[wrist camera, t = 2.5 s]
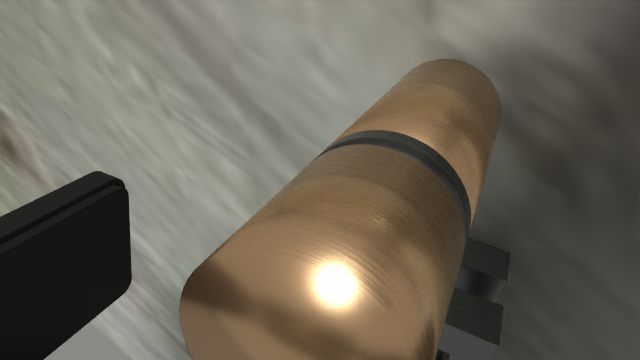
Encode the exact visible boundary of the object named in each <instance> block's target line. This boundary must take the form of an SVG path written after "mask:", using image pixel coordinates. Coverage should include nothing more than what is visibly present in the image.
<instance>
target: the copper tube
mask: <svg viewBox="0 0 640 360" xmlns="http://www.w3.org/2000/svg"><path fill="white" fill-rule="evenodd" d="M500 117H501V107H500V101H499V97H498V94H497V92H496V90H495V87H494V86H493V84H492V83H491V81H490V80H489V79H488V78H487V77H486V76H485V75H484V74H483V73H482V72H481V71H480V70H478V69H477V68H475V67H474V66H472V65H469V64H467V63H465V62H462V61H458V60H452V59H439V60H433V61H429V62H426V63H423V64H421V65H419V66H417V67H416V68H414V69H413V70H411V71H410V72H409V73H408V74H407V75H405V76H404V77H403V78H402V79H401V80H400V81H399V82H398V83H397V84H396V85H395V86H394V87H392V88H391V89H390V90H389V91H388V92H387V93H386V94H385V95H384V96H383V97H382V98H381V99H379V100H378V101H377V102H376V103H375V104H374V105H373V106H372V107H371V108H370V109H369V110H368V111H366V112H365V113H364V114H363V115H362V116H361V117H360V118H359V119H358V120H357V121H356V122H355V123H353V124H352V125H351V126H350V127H349V128H348V129H347V130H346V131H345V132H344V133H343V134H342V135H340V136H339V137H338V138H337V139H336V140H335V141H334V142H333V143H332V144H331V145H330V146H329V147H327V148H326V149H325V150H324V151H323V152H322V153H321V154H320V155H319V156H318V157H317V158H316V159H314V160H313V161H312V162H311V163H310V164H309V165H308V166H307V167H306V168H305V169H304V170H303V171H301V172H300V173H299V174H298V175H297V176H296V177H295V178H294V179H293V180H292V181H291V182H290V183H288V184H287V185H286V186H285V187H284V188H283V189H282V190H281V191H280V192H279V193H278V194H277V195H275V196H274V197H273V198H272V199H271V200H270V201H269V202H268V203H267V204H266V205H265V206H263V207H262V208H261V209H260V210H259V211H258V212H257V213H256V214H255V215H254V216H253V217H252V218H250V219H249V220H248V221H247V222H246V223H245V224H244V225H243V226H242V227H241V228H240V229H239V230H237V231H236V232H235V233H234V234H233V235H232V236H231V237H230V238H229V239H228V240H227V241H226V242H224V243H223V244H222V245H221V246H220V247H219V248H218V249H217V250H216V251H215V252H214V253H213V254H211V255H210V256H209V257H208V258H207V259H206V260H205V261H204V262H203V263H202V264H201V265H200V266H198V267H197V268H196V269H195V270H194V271H193V273H192V274H191V275H190V277H189V278H188V279H187V282H186V284H185V286H184V288H183V291H182V295H181V299H180V309H179V312H180V323H181V328H182V333H183V337H184V340H185V343H186V346H187V348H188V350H189V352H190V355H191V357H192V359H193V360H435V356H436V352H437V349H438V345H439V341H440V338H441V334H442V330H443V327H444V323H445V320H446V316H447V312H448V309H449V305H450V301H451V298H452V294H453V290H454V287H455V283H456V280H457V276H458V272H459V269H460V265H461V261H462V258H463V254H464V250H465V247H466V243H467V240H468V236H469V232H470V229H471V225H472V221H473V218H474V214H475V210H476V207H477V203H478V200H479V196H480V192H481V189H482V185H483V181H484V178H485V174H486V170H487V167H488V163H489V160H490V156H491V152H492V149H493V145H494V141H495V138H496V134H497V130H498V127H499V123H500Z"/></svg>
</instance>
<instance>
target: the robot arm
mask: <svg viewBox="0 0 640 360" xmlns="http://www.w3.org/2000/svg"><path fill="white" fill-rule="evenodd" d="M131 279H132V275H131V248H130V221H129V195H128V191H127V190H126V189H125V185H124V183H123V181H122V180H120V179H118V178H116V177H113V176H111V175H108V174H106V173H103V172H101V171H95V172H92V173H90V174H88V175H86V176H83V177H81V178H79V179H77V180H75V181H73V182H71V183H69V184H67V185H65V186H63V187H61V188H59V189H57V190H55V191H53V192H51V193H49V194H47V195H44V196H42V197H40V198H38V199H36V200H34V201H32V202H30V203H28V204H26V205H24V206H22V207H20V208H18V209H16V210H14V211H12V212H10V213H7V214H5V215H3V216H1V217H0V360H44V359H45V358H46V357H47V356H48V355H50V354H51V353H52V352H53V351H55V350H56V349H57V348H58V347H59V346H61V345H62V344H63V343H64V342H66V341H67V340H68V339H69V338H70V337H72V336H73V335H74V334H75V333H77V332H78V331H79V330H80V329H81V328H83V327H84V326H85V325H86V324H88V323H89V322H90V321H91V320H92V319H94V318H95V317H96V316H97V315H99V314H100V313H101V312H102V311H103V310H105V309H106V308H107V307H108V306H110V305H111V304H112V303H113V302H114V301H116V300H117V299H118V298H119V297H120V296H122V295H123V294H124V293H125V292H126V291H127V289H128V288H129V286H130V283H131Z"/></svg>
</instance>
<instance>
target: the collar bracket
mask: <svg viewBox="0 0 640 360" xmlns="http://www.w3.org/2000/svg"><path fill="white" fill-rule="evenodd" d="M509 259H510V253H508V252H506V251H503V250H500V249H498V248H495V247H492V246H489V245H487V244H484V243H481V242H478V241H476V240H473V239H470V238H468V240H467V243H466V247H465V250H464V254H463V258H462V261H461V265H460V269H459V272H458V276H457V280H456V283H455V287H454V290H453V294H452V298H451V301H450V305H449V309H448V312H447V316H446V320H445V323H444V327H443V330H442V334H441V338H440V341H439V345H438V349H437V352H436V356H435V360H492V358H493V356H494V354H495V352H496V350H497V348H498V346H499V339H500V331H501V323H502V315H503V307H504V306H501V305H499V304H496V302H497V300H498V298H499V296H500V294H501V292H502V290H503V288H504V286H505V284H506V282H507V275H508V267H509Z"/></svg>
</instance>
